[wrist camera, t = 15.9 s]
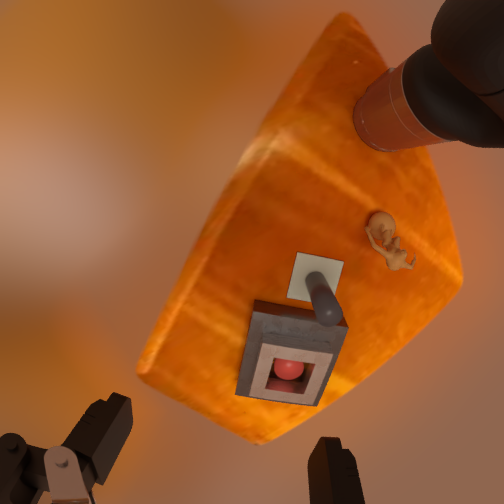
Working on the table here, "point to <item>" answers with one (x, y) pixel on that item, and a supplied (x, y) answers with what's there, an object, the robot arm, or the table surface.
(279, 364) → the button
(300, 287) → the pad
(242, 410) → the table surface
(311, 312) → the box
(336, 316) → the dark grey cylinder
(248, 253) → the table surface
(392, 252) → the figurine
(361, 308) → the table surface
